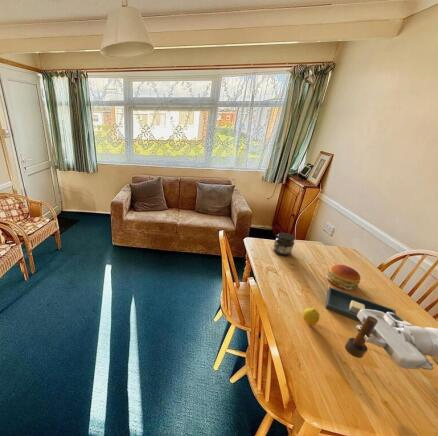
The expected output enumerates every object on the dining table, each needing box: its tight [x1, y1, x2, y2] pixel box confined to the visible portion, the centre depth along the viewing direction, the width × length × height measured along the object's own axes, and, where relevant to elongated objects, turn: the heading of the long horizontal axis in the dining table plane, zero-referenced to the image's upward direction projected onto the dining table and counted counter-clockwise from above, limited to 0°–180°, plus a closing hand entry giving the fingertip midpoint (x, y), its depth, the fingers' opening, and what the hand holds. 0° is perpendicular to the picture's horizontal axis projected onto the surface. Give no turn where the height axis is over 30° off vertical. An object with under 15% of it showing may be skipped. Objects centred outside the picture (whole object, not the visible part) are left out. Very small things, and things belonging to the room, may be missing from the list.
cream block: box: [349, 300, 365, 314], centre depth 103 cm, size 4×4×3 cm
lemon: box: [302, 307, 320, 325], centre depth 97 cm, size 6×6×8 cm
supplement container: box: [272, 232, 296, 257], centre depth 145 cm, size 10×10×12 cm
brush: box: [344, 316, 378, 359], centre depth 78 cm, size 5×5×16 cm
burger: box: [325, 264, 361, 291], centre depth 119 cm, size 13×14×10 cm
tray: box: [325, 286, 397, 324], centre depth 103 cm, size 24×15×3 cm, turn 51°
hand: (361, 333), depth 78 cm, fingers closed on brush, 2 cm apart
